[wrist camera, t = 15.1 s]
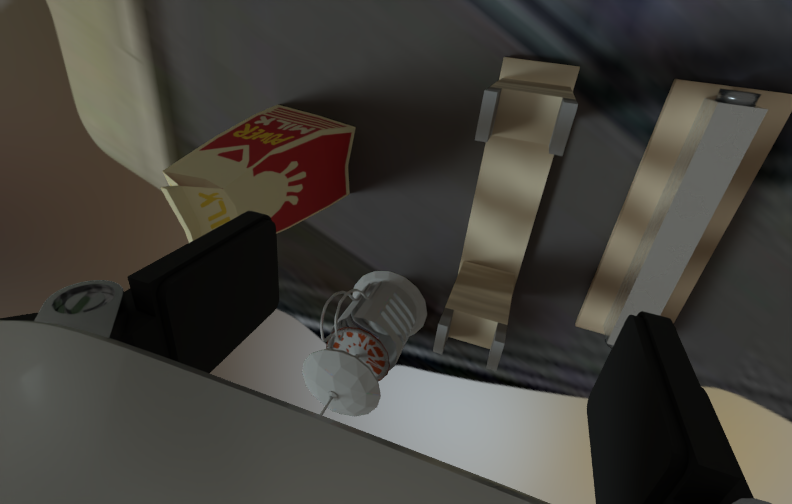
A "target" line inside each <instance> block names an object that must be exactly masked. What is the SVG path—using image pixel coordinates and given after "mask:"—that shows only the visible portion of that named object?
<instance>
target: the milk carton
mask: <svg viewBox="0 0 792 504" xmlns="http://www.w3.org/2000/svg"><path fill="white" fill-rule="evenodd" d="M355 129H356V127H354V126H350V125H347V124H344V123H341V122H338V121H334V120H331V119H328V118H325V117H322V116H319V115H315V114H311V113H308V112H304V111H300V110H296V109H292V108H289V107H285V106H281V105H276V106H273V107H271V108H269V109H266V110H264V111H262V112H259V113H257V114H255V115H253V116H251V117H249V118H248V119H246V120H244V121H242V122H241V123H239V124H237V125H235V126H233V127H232V128H230V129H228V130H226V131H224V132H223V133H221V134H219V135H217V136H216V137H214V138H212V139H211V140H209V141H208V142H206V143H205V144H203V145H202V146H200V147H199V148H197V149H196V150H194V151H193V152H191V153H189V154H188V155H186V156H185V157H183V158H182V159H180V160H179V161H177V162H176V163H174V164H173V165H171V166H169V167H168V168H166V169H165V170H163V173H164V175H165V178H166V180H167V182H168V184H169V186H167V187H160V188H161V190H162V191H163V193H164V195H165V197H166V199H167V200H168V202H169V204H170V206H171V207H172V209H173V211H174V213H175V214H176V216H177V218H178V220H179V221H180V223H181V225H182V227H183V229H184V230H185V233H186V235H187V238H188V241H189V243H190V242H192V241H194V240H195V239H197V238H199V237H201V236H203V235H205V234H206V233H208V232H210V231H212V230H214V229H216V228H217V227H219V226H221V225H223V224H225V223H226V222H228V221H230V220H232V219H234V218H236V217H237V216H239V215H241V214H243V213H245V212H247V211H254V212H258V213H262V214H266V215H269V216H270V217H271V220H272V221H273V222H274V223H275V225H276V234H277V233H279V232H281V231H283V230H286V229H288V228H290V227H292V226H294V225H295V224H297V223H299V222H301V221H303V220H305V219H307V218H309V217H311V216H313V215H314V214H316V213H318V212H320V211H322V210H324V209H326V208H328V207H329V206H331V205H333V204H334V203H336V202H338V201H339V200H341V199H342V198H344V197H346V196H347V195H349V194H350V191H349V173H348V164H349V159H350V154H351V149H352V144H353V139H354V134H355Z"/></svg>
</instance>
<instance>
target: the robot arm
mask: <svg viewBox="0 0 792 504" xmlns="http://www.w3.org/2000/svg"><path fill="white" fill-rule="evenodd" d="M128 281H129V284H130V289H129V290H127V291H125V292H124V291H123V288H122V287H121V286H120V285H119V284H117V283H115V282H112V281H105V280H96V281H87V282H81V283H78V284H74V285H70V286H68V287H65V288H63V289H61V290H59V291H57V292H56V293H54V294H53V295H51V296H50V297H49V298H48V299H47V300H46V301H45V302H44V304H43V306H42V308H41V310H40V312H39V313H33V314H26V315H20V316H13V317H7V318H0V504H550V503H547V502H545V501H542V500H540V499H537V498H535V497H532V496H530V495H527V494H525V493H522V492H520V491H517V490H515V489H512V488H510V487H507V486H505V485H502V484H499V483H497V482H494V481H492V480H489V479H486V478H484V477H481V476H479V475H476V474H473V473H471V472H468V471H465V470H463V469H460V468H458V467H455V466H452V465H450V464H447V463H445V462H442V461H439V460H437V459H434V458H432V457H429V456H426V455H424V454H421V453H418V452H416V451H413V450H411V449H408V448H405V447H403V446H400V445H398V444H395V443H393V442H390V441H387V440H385V439H382V438H379V437H376V436H374V435H372V434H369V433H366V432H363V431H361V430H358V429H356V428H353V427H350V426H348V425H345V424H342V423H340V422H337V421H334V420H332V419H329V418H327V417H324V416H321V415H319V414H316V413H313V412H310V411H308V410H305V409H303V408H300V407H297V406H295V405H292V404H289V403H287V402H284V401H281V400H279V399H276V398H273V397H271V396H268V395H266V394H263V393H260V392H258V391H255V390H252V389H249V388H247V387H244V386H241V385H239V384H236V383H233V382H231V381H228V380H225V379H222V378H220V377H217V376H214V375H212V374H209V373H210V372H211V371H212V370H213V369H214V368H215V367H216V366H218V365H219V364H220V363H221V362H222V361H223V360H224V359H225V358H226V357H227V356H228V355H229V354H230V353H231V352H232V351H233V350H234V349H235V348H236V347H237V346H238V345H239V344H240V343H241V342H242V341H243V340H244V339H246V338H247V337H248V336H249V335H250V334H251V333H252V332H253V331H254V330H255V329H256V328H257V327H258V326H259V325H260V324H261V323H262V322H263V321H264V320H265V319H266V318H267V317H268V316H269V315H271V314H272V313H273V312H274V310H275V309H276V308H277V306H278V303H279V283H278V261H277V238H276V225H275V223H274V222H273V221H272V220H271V217H270V216H269V215H266V214H262V213H258V212H254V211H247V212H245V213H243V214H241V215H239V216H237V217H236V218H234V219H232V220H230V221H228V222H226V223H225V224H223V225H221V226H219V227H217V228H216V229H214V230H212V231H210V232H208V233H206V234H205V235H203V236H201V237H199V238H197V239H195V240H194V241H192V242H190V243H188V244H186V245H185V246H183V247H181V248H179V249H177V250H175V251H174V252H172V253H170V254H168V255H166V256H164V257H163V258H161V259H159V260H157V261H155V262H154V263H152V264H150V265H148V266H146V267H144V268H143V269H141V270H139V271H137V272H135V273H133V274H132V275H130V276H128ZM587 416H588V426H589V437H590V445H591V446H590V447H591V457H592V467H593V477H594V487H595V498H596V504H771V503H769V502H766V501H762V500H758V499H755V498H753V495H752V493H751V491H750V489H749V486H748V484H747V482H746V480H745V477H744V475H743V473H742V471H741V468H740V466H739V464H738V462H737V460H736V457H735V455H734V453H733V451H732V448H731V446H730V444H729V442H728V439H727V437H726V435H725V433H724V431H723V428H722V426H721V424H720V422H719V420H718V417H717V415H716V413H715V410H714V408H713V406H712V404H711V402H710V399H709V397H708V395H707V393H706V392H705V390H704V389H703V388H702V387H701V386H700V384H699V381H698V379H697V377H696V375H695V372H694V370H693V368H692V365H691V363H690V361H689V359H688V356H687V354H686V352H685V350H684V347H683V345H682V343H681V340H680V338H679V336H678V334H677V331H676V329H675V327H674V324H673V322H672V320H671V319H670V318H667V317H663V316H660V315H656V314H652V313H648V312H644V311H641V312H639V313H638V314H637V316H635V315H629V316H628V317H627V319H626V321H625V323H624V325H623V327H622V329H621V331H620V333H619V335H618V337H617V339H616V341H615V344H614V346H613V348H612V350H611V352H610V354H609V356H608V358H607V360H606V362H605V364H604V366H603V368H602V371H601V373H600V375H599V377H598V379H597V381H596V383H595V385H594V387H593V389H592V391H591V393H590V396H589V399H588V404H587Z"/></svg>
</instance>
